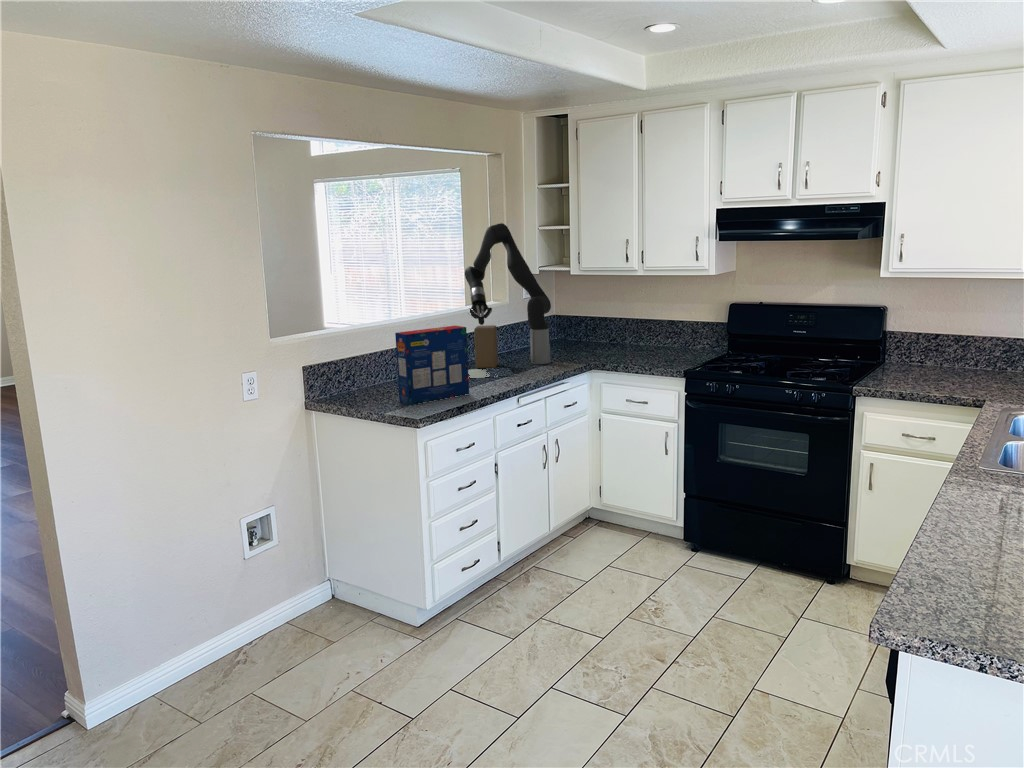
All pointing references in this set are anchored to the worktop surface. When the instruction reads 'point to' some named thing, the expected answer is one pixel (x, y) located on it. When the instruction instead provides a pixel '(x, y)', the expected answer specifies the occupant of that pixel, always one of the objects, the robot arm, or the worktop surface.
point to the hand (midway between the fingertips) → (481, 323)
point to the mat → (478, 373)
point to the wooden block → (486, 346)
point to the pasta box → (432, 364)
